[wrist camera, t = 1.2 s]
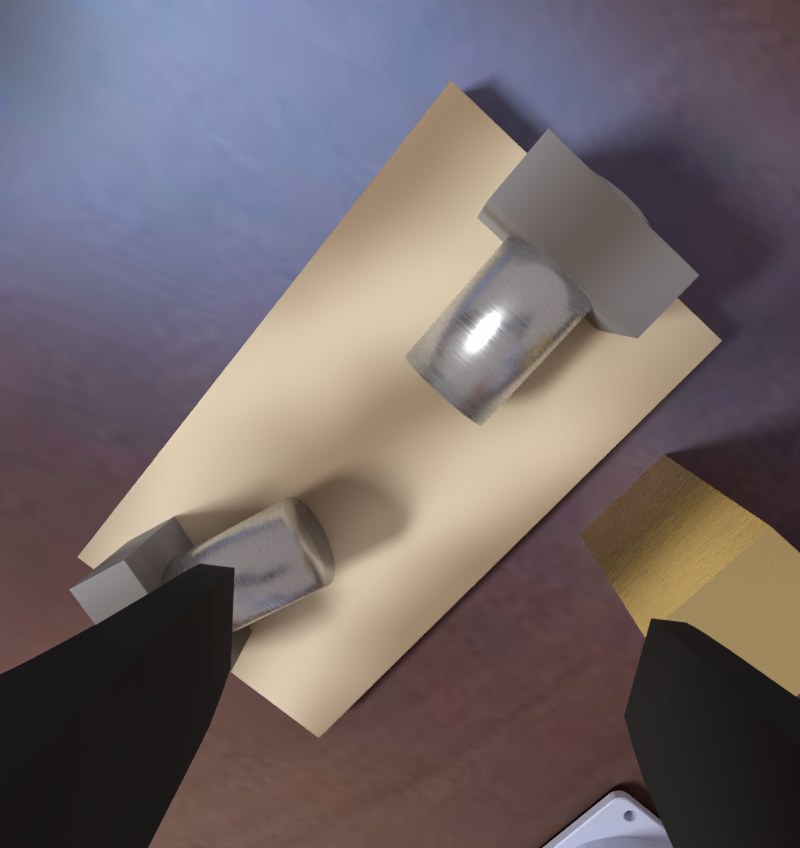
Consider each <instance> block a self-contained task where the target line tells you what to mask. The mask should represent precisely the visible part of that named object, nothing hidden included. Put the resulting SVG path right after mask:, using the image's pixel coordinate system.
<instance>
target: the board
mask: <svg viewBox="0 0 800 848" xmlns="http://www.w3.org/2000/svg"><path fill="white" fill-rule="evenodd" d="M509 235H514V236H517V237H519V238H521V239H523V240H524V241H526V242H528V243H529V244H531V245H532V246H533V247H535V248H536V249H538V250H539V251H540V252H542V253H543V254H544V255H545V256H547V257H548V258H549V259H550V260H551V261H553V262H554V263H555V264H556V265H557V266H558V267H559V268H560V269H562V270H563V271H564V272H565V273H566V274H567V275H568V276H569V277H570V278H571V279H572V280H573V281H574V282H575V283H576V284H577V286H578V287H579V288H580V289H581V290H582V291H583V293H584V294H585V295H586V296H587V298H588V299H589V301H590V303H591V305H592V309H591V310H590V311H589V312H588V313H587V315H586V316H585V317H584V318H583V319H582V320H581V321H580V322H579V323H578V324H577V325H576V326H575V327H574V328H573V330H572V331H571V332H570V333H569V334H568V335H567V336H566V337H565V338H564V339H563V340H562V341H561V342H560V343H559V344H558V346H557V347H556V348H555V349H554V350H553V351H552V352H551V353H550V354H549V355H548V356H547V357H546V358H545V359H544V360H543V362H542V363H541V364H540V365H539V366H538V367H537V368H536V369H535V370H534V371H533V372H532V373H531V374H530V375H529V376H528V378H527V379H526V380H525V381H524V382H523V383H522V384H521V385H520V386H519V387H518V388H517V389H516V390H515V391H514V392H513V394H512V395H511V396H510V397H509V398H508V399H507V400H506V401H505V402H504V403H503V404H502V405H501V406H500V407H499V408H498V410H497V411H496V412H495V413H494V414H493V415H492V416H491V417H490V418H489V419H488V420H487V421H486V422H485V423H484V424H483V426H481V425H478V424H477V423H475V422H473V421H472V420H470V419H469V418H468V417H466V416H465V415H464V414H462V413H461V412H460V411H459V410H457V409H456V408H455V407H454V406H452V405H451V404H450V403H449V402H448V401H447V400H445V399H444V398H443V397H442V396H441V395H440V394H439V393H438V392H436V391H435V390H434V389H433V388H432V387H431V386H430V385H429V384H428V383H427V382H426V381H425V380H424V379H423V378H422V377H421V376H420V375H419V374H418V373H417V372H416V371H415V370H414V369H413V368H412V366H411V365H410V364H409V363H408V361H407V360H406V358H405V355H406V354H407V353H408V352H409V350H410V349H411V348H412V347H413V346H414V345H415V344H416V342H417V341H418V340H419V339H420V338H421V337H422V335H423V334H424V333H425V332H426V331H427V330H428V329H429V327H430V326H431V325H432V324H433V323H434V322H435V320H436V319H437V318H438V317H439V316H440V315H441V314H442V312H443V311H444V310H445V309H446V308H447V307H448V305H449V304H450V303H451V302H452V301H453V300H454V299H455V297H456V296H457V295H458V294H459V293H460V292H461V290H462V289H463V288H464V287H465V286H466V285H467V284H468V282H469V281H470V280H471V279H472V278H473V277H474V275H475V274H476V273H477V272H478V271H479V270H480V269H481V267H482V266H483V265H484V264H485V263H486V262H487V260H488V259H489V258H490V257H491V256H492V255H493V254H494V252H495V251H496V250H497V249H498V248H499V247H500V245H501V244H502V243H503V242H504V241H505V240H506V239H507V237H508V236H509ZM698 276H699V274H698V273H697V272H696V271H695V270H694V269H693V268H692V267H690V266H689V265H688V264H687V263H686V262H685V261H684V260H683V259H682V258H681V257H680V256H679V255H678V254H677V253H676V252H675V251H674V250H673V249H672V248H671V247H670V246H669V245H668V244H667V243H666V242H665V241H664V240H663V239H662V238H661V237H660V236H659V235H658V234H657V233H656V232H655V231H653V230H652V229H651V228H650V227H649V226H648V225H647V224H646V223H645V222H644V221H643V220H642V219H641V218H640V217H639V216H638V215H637V214H636V213H635V212H634V211H633V210H632V209H631V208H630V207H629V206H628V205H627V204H626V203H625V202H624V201H623V200H622V199H621V198H620V197H619V196H618V195H617V194H615V193H614V192H613V191H612V190H611V189H610V188H609V187H608V186H607V185H606V184H605V183H604V182H603V181H602V180H601V179H600V178H599V177H598V176H597V175H596V174H595V173H594V172H593V171H592V170H591V169H590V168H589V167H588V166H587V165H586V164H585V163H584V162H583V161H582V160H581V159H580V158H579V157H577V156H576V155H575V154H574V153H573V152H572V151H571V150H570V149H569V148H568V147H567V146H566V145H565V144H564V143H563V142H562V141H561V140H560V139H559V138H558V137H557V136H556V135H555V134H554V133H553V132H552V131H551V130H550V129H549V128H548V129H547V130H546V132H545V133H544V134H543V135H542V136H541V138H540V139H539V140H538V141H537V142H536V143H535V145H534V146H533V147H532V148H531V149H530V151H529V152H528V153H526V152H525V151H524V150H523V149H522V148H521V147H520V146H519V145H518V144H517V143H516V142H515V141H514V140H513V139H512V138H511V137H509V136H508V135H507V134H506V133H505V132H504V131H503V130H502V129H501V128H500V127H499V126H498V125H497V124H496V123H495V122H494V121H493V120H492V119H491V118H490V117H489V116H488V115H487V114H486V113H484V112H483V111H482V110H481V109H480V108H479V107H478V106H477V105H476V104H475V103H474V102H473V101H472V100H471V99H470V98H469V97H468V96H467V95H466V94H465V93H464V92H463V91H462V90H461V89H459V88H458V87H457V86H456V85H455V84H454V83H453V82H452V81H450V82H449V84H448V85H447V86H446V87H445V89H444V90H443V91H442V93H441V94H440V95H439V96H438V98H437V99H436V100H435V101H434V103H433V104H432V105H431V107H430V108H429V109H428V110H427V112H426V113H425V114H424V116H423V117H422V118H421V119H420V121H419V122H418V123H417V124H416V126H415V127H414V128H413V130H412V131H411V132H410V133H409V135H408V136H407V137H406V138H405V140H404V141H403V142H402V144H401V145H400V146H399V147H398V149H397V150H396V151H395V153H394V154H393V155H392V156H391V158H390V159H389V160H388V161H387V163H386V164H385V165H384V167H383V168H382V169H381V170H380V172H379V173H378V174H377V176H376V177H375V178H374V179H373V181H372V182H371V183H370V184H369V186H368V187H367V188H366V190H365V191H364V192H363V193H362V195H361V196H360V197H359V199H358V200H357V201H356V202H355V204H354V205H353V206H352V207H351V209H350V210H349V211H348V213H347V214H346V215H345V216H344V218H343V219H342V220H341V221H340V223H339V224H338V225H337V227H336V228H335V229H334V230H333V232H332V233H331V234H330V236H329V237H328V238H327V239H326V241H325V242H324V243H323V244H322V246H321V247H320V248H319V250H318V251H317V252H316V253H315V255H314V256H313V257H312V259H311V260H310V261H309V262H308V264H307V265H306V266H305V267H304V269H303V270H302V271H301V273H300V274H299V275H298V276H297V278H296V279H295V280H294V282H293V283H292V284H291V285H290V287H289V288H288V289H287V290H286V292H285V293H284V294H283V296H282V297H281V298H280V299H279V301H278V302H277V303H276V304H275V306H274V307H273V308H272V310H271V311H270V312H269V313H268V315H267V316H266V317H265V319H264V320H263V321H262V322H261V324H260V325H259V326H258V327H257V329H256V330H255V331H254V333H253V334H252V335H251V336H250V338H249V339H248V340H247V342H246V343H245V344H244V345H243V347H242V348H241V349H240V350H239V352H238V353H237V354H236V356H235V357H234V358H233V359H232V361H231V362H230V363H229V365H228V366H227V367H226V368H225V370H224V371H223V372H222V373H221V375H220V376H219V377H218V379H217V380H216V381H215V382H214V384H213V385H212V386H211V387H210V389H209V390H208V391H207V393H206V394H205V395H204V396H203V398H202V399H201V400H200V402H199V403H198V404H197V405H196V407H195V408H194V409H193V410H192V412H191V413H190V414H189V416H188V417H187V418H186V419H185V421H184V422H183V423H182V425H181V426H180V427H179V428H178V430H177V431H176V432H175V433H174V435H173V436H172V437H171V439H170V440H169V441H168V442H167V444H166V445H165V446H164V448H163V449H162V450H161V451H160V453H159V454H158V455H157V456H156V458H155V459H154V460H153V462H152V463H151V464H150V465H149V467H148V468H147V469H146V470H145V472H144V473H143V474H142V476H141V477H140V478H139V479H138V481H137V482H136V483H135V485H134V486H133V487H132V488H131V490H130V491H129V492H128V493H127V495H126V496H125V497H124V499H123V500H122V501H121V502H120V504H119V505H118V506H117V508H116V509H115V510H114V511H113V513H112V514H111V515H110V516H109V518H108V519H107V520H106V522H105V523H104V524H103V525H102V527H101V528H100V529H99V531H98V532H97V533H96V534H95V536H94V537H93V538H92V539H91V541H90V542H89V543H88V545H87V546H86V547H85V548H84V550H83V551H82V552H81V553H80V555H79V556H78V558H79V559H81V560H82V561H83V562H85V563H86V564H87V565H89V566H90V567H91V568H93V569H94V570H92V571H91V572H90V573H89V574H88V575H86V576H85V577H84V578H83V579H82V580H80V581H79V582H78V583H77V584H75V585H74V586H73V587H72V588H71V589H69V590H70V591H71V592H72V594H73V595H74V596H75V598H76V599H77V601H78V602H79V603H80V605H81V606H82V607H83V609H84V610H85V611H86V613H87V614H88V615H89V617H90V618H91V619H92V621H93V622H94V623H95V625H96V624H98V623H100V622H101V621H103V620H105V619H106V618H108V617H110V616H112V615H113V614H115V613H117V612H118V611H120V610H122V609H123V608H125V607H127V606H128V605H130V604H132V603H133V602H135V601H137V600H139V599H140V598H142V597H144V596H145V595H147V594H149V593H150V592H152V591H154V590H155V589H157V588H158V587H160V586H162V585H163V584H162V582H163V575H164V571H165V568H166V566H167V564H168V563H169V561H170V560H171V559H173V558H174V557H176V556H178V555H180V554H181V553H183V552H185V551H187V550H189V549H191V548H193V547H195V546H197V545H198V544H200V543H202V542H204V541H206V540H208V539H210V538H212V537H214V536H215V535H217V534H219V533H221V532H223V531H225V530H227V529H229V528H231V527H232V526H234V525H236V524H238V523H240V522H242V521H244V520H246V519H248V518H249V517H251V516H253V515H255V514H257V513H259V512H261V511H263V510H265V509H266V508H268V507H270V506H272V505H274V504H276V503H278V502H280V501H282V500H283V499H285V498H287V497H295V498H297V499H299V500H301V501H302V502H303V503H304V504H306V505H307V506H308V507H309V509H310V510H311V511H312V512H313V514H314V515H315V516H316V518H317V519H318V521H319V522H320V524H321V526H322V528H323V530H324V532H325V534H326V536H327V538H328V541H329V543H330V546H331V549H332V553H333V557H334V563H335V576H334V579H333V582H332V583H331V584H330V585H328V586H326V587H324V588H322V589H320V590H318V591H316V592H314V593H312V594H310V595H308V596H306V597H304V598H302V599H300V600H298V601H296V602H294V603H292V604H290V605H288V606H286V607H284V608H282V609H280V610H278V611H276V612H274V613H272V614H269V615H267V616H265V617H263V618H261V619H259V620H257V621H255V622H253V623H251V624H249V625H247V626H245V627H243V628H241V629H239V630H237V631H235V632H233V633H232V650H231V669H230V672H229V675H230V673H231V672H232V673H233V674H234V675H236V676H237V677H238V678H240V679H241V680H242V681H244V682H245V683H246V684H248V685H249V686H250V687H252V688H253V689H254V690H256V691H257V692H258V693H260V694H261V695H262V696H264V697H265V698H266V699H268V700H269V701H270V702H272V703H273V704H274V705H276V706H277V707H278V708H280V709H281V710H282V711H284V712H285V713H286V714H288V715H289V716H290V717H292V718H293V719H294V720H296V721H297V722H298V723H300V724H301V725H302V726H304V727H305V728H306V729H308V730H309V731H310V732H312V733H313V734H314V735H316V736H317V737H318V738H319V737H320V736H321V735H322V734H323V733H324V732H325V731H326V730H327V729H328V728H329V727H330V726H331V725H332V724H333V723H334V722H335V721H336V720H337V719H338V718H339V717H340V716H341V715H342V714H344V713H345V712H346V711H347V710H348V709H349V708H350V707H351V706H352V705H353V704H354V703H355V702H356V701H357V700H358V699H359V698H360V697H361V696H362V695H363V694H364V693H365V692H366V691H367V690H368V689H369V688H370V687H371V686H372V685H373V684H374V683H375V682H376V681H377V680H378V679H379V678H380V677H381V676H382V675H383V674H384V673H385V672H386V671H387V670H388V669H389V668H390V667H391V666H392V665H393V664H394V663H395V662H396V661H397V660H398V659H399V658H400V657H401V656H402V655H403V654H404V653H405V652H406V651H408V650H409V649H410V648H411V647H412V646H413V645H414V644H415V643H416V642H417V641H418V640H419V639H420V638H421V637H422V636H423V635H424V634H425V633H426V632H427V631H428V630H429V629H430V628H431V627H432V626H433V625H434V624H435V623H436V622H437V621H438V620H439V619H440V618H441V617H442V616H443V615H444V614H445V613H446V612H447V611H448V610H449V609H450V608H451V607H452V606H453V605H454V604H455V603H456V602H457V601H458V600H459V599H460V598H461V597H462V596H463V595H464V594H465V593H466V592H467V591H468V590H469V589H470V588H472V587H473V586H474V585H475V584H476V583H477V582H478V581H479V580H480V579H481V578H482V577H483V576H484V575H485V574H486V573H487V572H488V571H489V570H490V569H491V568H492V567H493V566H494V565H495V564H496V563H497V562H498V561H499V560H500V559H501V558H502V557H503V556H504V555H505V554H506V553H507V552H508V551H509V550H510V549H511V548H512V547H513V546H514V545H515V544H516V543H517V542H518V541H519V540H520V539H521V538H522V537H523V536H524V535H525V534H526V533H527V532H528V531H529V530H530V529H531V528H532V527H533V526H534V525H535V524H537V523H538V522H539V521H540V520H541V519H542V518H543V517H544V516H545V515H546V514H547V513H548V512H549V511H550V510H551V509H552V508H553V507H554V506H555V505H556V504H557V503H558V502H559V501H560V500H561V499H562V498H563V497H564V496H565V495H566V494H567V493H568V492H569V491H570V490H571V489H572V488H573V487H574V486H575V485H576V484H577V483H578V482H579V481H580V480H581V479H582V478H583V477H584V476H585V475H586V474H587V473H588V472H589V471H590V470H591V469H592V468H593V467H594V466H595V465H596V464H597V463H598V462H599V461H601V460H602V459H603V458H604V457H605V456H606V455H607V454H608V453H609V452H610V451H611V450H612V449H613V448H614V447H615V446H616V445H617V444H618V443H619V442H620V441H621V440H622V439H623V438H624V437H625V436H626V435H627V434H628V433H629V432H630V431H631V430H632V429H633V428H634V427H635V426H636V425H637V424H638V423H639V422H640V421H641V420H642V419H643V418H644V417H645V416H646V415H647V414H648V413H649V412H650V411H651V410H652V409H653V408H654V407H655V406H656V405H657V404H658V403H659V402H660V401H661V400H662V399H663V398H664V397H666V396H667V395H668V394H669V393H670V392H671V391H672V390H673V389H674V388H675V387H676V386H677V385H678V384H679V383H680V382H681V381H682V380H683V379H684V378H685V377H686V376H687V375H688V374H689V373H690V372H691V371H692V370H693V369H694V368H695V367H696V366H697V365H698V364H699V363H700V362H701V361H702V360H703V359H704V358H705V357H706V356H707V355H708V354H709V353H710V352H711V351H712V350H713V349H714V348H715V347H716V346H717V345H718V344H719V343H720V342H721V341H722V340H721V339H720V338H719V337H718V336H717V335H716V334H715V333H714V332H713V331H711V330H710V329H709V328H708V327H707V326H706V325H705V324H704V323H703V322H702V321H701V320H700V319H699V318H698V317H697V316H696V315H695V314H694V313H693V312H692V311H691V310H690V309H689V308H688V307H686V306H685V305H684V304H683V303H682V302H681V301H680V300H679V299H678V297H679V296H680V295H681V294H682V293H683V292H684V290H685V289H686V288H687V287H688V286H689V285H690V284H691V283H692V282H693V281H694V280H695V279H696V278H697V277H698ZM229 675H228V677H229ZM228 677H227V679H228ZM226 681H227V680H226Z"/></svg>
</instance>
